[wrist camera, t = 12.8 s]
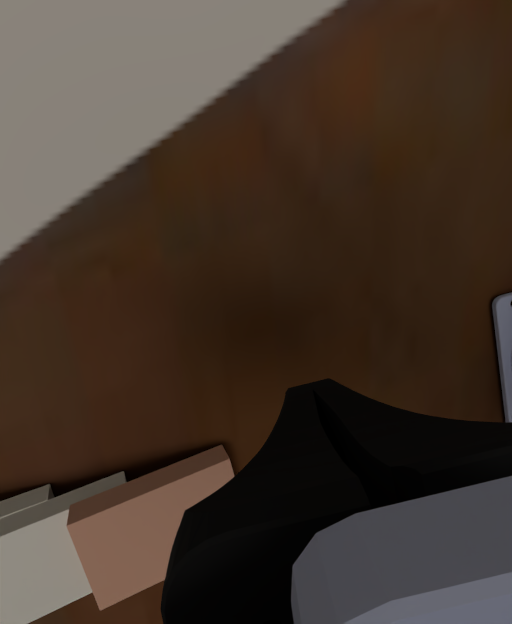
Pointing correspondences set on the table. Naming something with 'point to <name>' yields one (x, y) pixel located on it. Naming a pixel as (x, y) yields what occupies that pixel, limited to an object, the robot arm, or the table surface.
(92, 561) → the terracotta domino
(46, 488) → the ivory domino
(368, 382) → the table surface
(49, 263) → the table surface
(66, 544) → the ivory domino
